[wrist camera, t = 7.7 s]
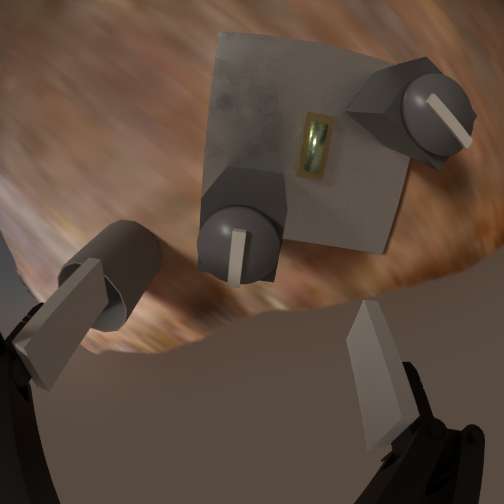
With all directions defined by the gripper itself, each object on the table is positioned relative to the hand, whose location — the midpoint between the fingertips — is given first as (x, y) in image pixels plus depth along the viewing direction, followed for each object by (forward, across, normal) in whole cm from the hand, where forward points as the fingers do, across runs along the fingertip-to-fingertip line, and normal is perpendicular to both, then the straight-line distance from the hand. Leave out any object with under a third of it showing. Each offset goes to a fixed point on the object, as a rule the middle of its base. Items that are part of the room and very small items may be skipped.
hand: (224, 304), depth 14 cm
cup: (+18, -14, -9) cm, 24 cm away
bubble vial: (+16, +5, +6) cm, 18 cm away
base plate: (+17, +5, +6) cm, 19 cm away
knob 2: (+16, +11, +11) cm, 23 cm away
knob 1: (+16, 0, 0) cm, 16 cm away
